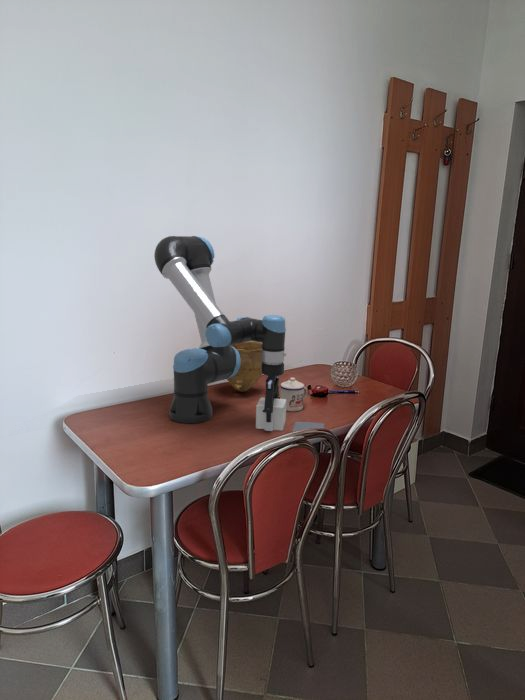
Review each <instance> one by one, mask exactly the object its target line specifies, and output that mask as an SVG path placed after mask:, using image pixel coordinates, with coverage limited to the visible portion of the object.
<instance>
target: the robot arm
mask: <svg viewBox="0 0 525 700" xmlns="http://www.w3.org/2000/svg"><path fill="white" fill-rule="evenodd" d="M214 259H215V249H214V247H213V245H212V244H211V242H210V240H208V239H206V238H205V237H201V236H196V235H191V236H189V235H187V236H182V235H179V236H178V235H177V236H176V235H169V236H167V237H165V238H162V239H161V240H160V241H159V242H158V243H157V244H156V247H155V249H154V261H155V262H154V263H155V265H156V267H157V270H158V271H159V273H160V274H161V275H162V277H163V278H164V279H168V280H169V281H170V282H171V284H172V285H173V286H174V287H175V289H176V291H177V292H178V293H179V295H180V296H181V298H183V300H184V301H185V302H186V304H187V305H188V306H189V308H190V309H191V310H192V312H193V313H194V317H195V322H196V325H197V330H198V333H199V337H200V342H201V344H200V345H199V347H198V348H197V347H194V348H188V349H184V350H181V351H179V352H177V353H176V354H175V355H174V358H173V366H172V368H173V369H172V370H173V391H174V392H173V394H174V395H173V398H172V402H171V404H170V408H169V411H168V413H169V419H170V420H172V421H173V422H176V423H181V424H198V423H204V422H206V421H209V420H210V419H212V417H213V406H212V404H211V401H210V398H209V395H208V385H209V384H212V383H217V382H221V381H225V380H227V379H228V378H230V377H233V376H234V375H235V374H236V373H237V372H238V370H239V368H240V364H241V359H240V355H239V352H238V351H237V350H236V349H235V348H234V347H232V346H231V345H232V344H237V343H242V342H247V341H256V342H260V343H262V361H263V362H262V373H263V375H265V376H267V378H266V380H265V394H264V396H265V397H264V398H265V406H264V410H263V412H265V429H264V431H265V432H273V431H274V430H273V404H274V398H275V399H280V389H279V388H280V385H279V382H280V378H279V377H280V376H282V375H284V373H285V363H284V362H285V357H286V356H287V353H286V352H285V343H286V342H285V341H286V332H287V331H286V330H287V329H286V318H285V317H284V316H282V315H278V314H277V315H276V314H267V315H264V316H263V317H262V319H257V318H254V317H253V318H252V317H249V316H246V317H244V316H243V317H242V316H240V317H237V318H236V319H235V320H231V321H230V319H229V318H227V316H226V315H225V314H224V312H222V310H221V308H220V307H219V305H218V304H217V302H216V299H215V295H214V290H213V286H212V282H211V278H210V273H211V271H212V265H213V263H214V261H215V260H214ZM267 408H268V409H267Z"/></svg>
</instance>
